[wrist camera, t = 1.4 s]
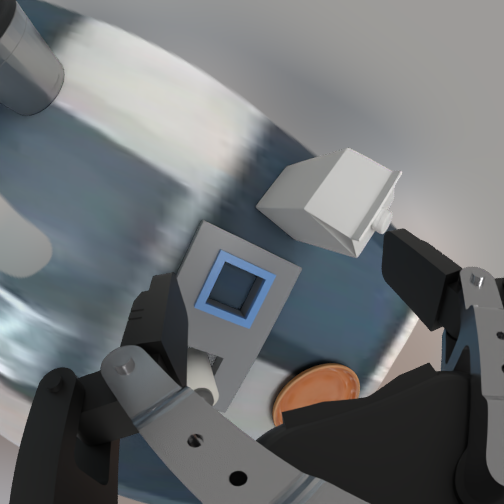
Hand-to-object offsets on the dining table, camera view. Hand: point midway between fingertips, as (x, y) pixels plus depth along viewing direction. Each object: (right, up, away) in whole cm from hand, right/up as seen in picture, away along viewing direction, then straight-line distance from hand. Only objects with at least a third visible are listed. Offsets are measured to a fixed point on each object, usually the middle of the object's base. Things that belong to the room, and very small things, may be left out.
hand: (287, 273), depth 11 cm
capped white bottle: (-9, -14, +28) cm, 33 cm away
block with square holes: (-7, -9, +28) cm, 30 cm away
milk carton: (+4, +7, +29) cm, 30 cm away
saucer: (+9, -24, +35) cm, 44 cm away
